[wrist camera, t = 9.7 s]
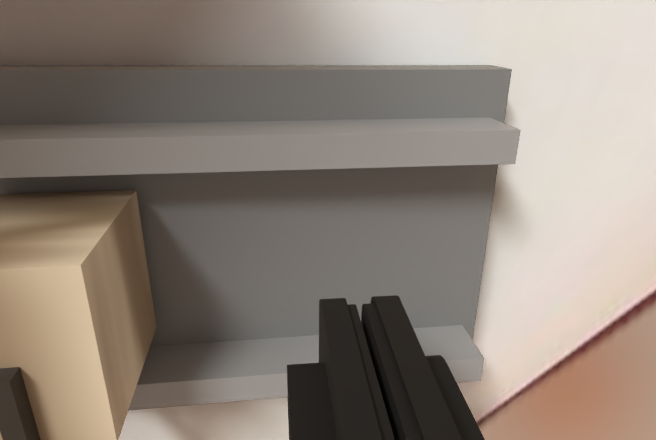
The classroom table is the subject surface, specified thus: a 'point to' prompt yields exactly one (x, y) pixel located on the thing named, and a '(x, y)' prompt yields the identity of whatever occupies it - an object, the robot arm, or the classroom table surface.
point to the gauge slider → (71, 313)
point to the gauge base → (275, 201)
